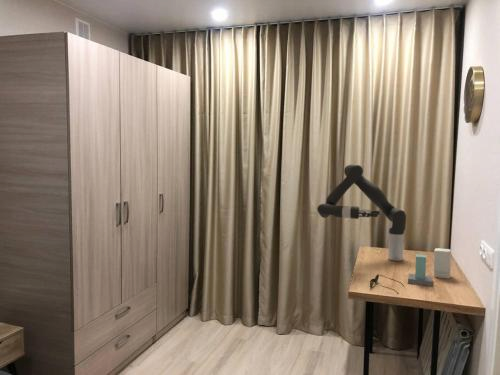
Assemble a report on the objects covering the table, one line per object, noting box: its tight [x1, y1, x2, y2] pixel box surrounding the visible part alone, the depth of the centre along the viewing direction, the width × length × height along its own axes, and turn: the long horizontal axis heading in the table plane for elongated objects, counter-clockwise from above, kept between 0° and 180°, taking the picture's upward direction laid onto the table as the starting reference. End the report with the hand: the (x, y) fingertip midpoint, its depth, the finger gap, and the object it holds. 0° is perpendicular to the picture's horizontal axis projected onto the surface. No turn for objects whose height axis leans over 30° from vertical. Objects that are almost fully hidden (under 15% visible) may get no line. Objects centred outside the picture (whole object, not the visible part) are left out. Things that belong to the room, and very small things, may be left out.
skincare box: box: [433, 247, 452, 280], centre depth 229 cm, size 8×7×16 cm
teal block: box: [414, 253, 427, 279], centre depth 220 cm, size 5×5×12 cm
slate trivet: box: [407, 273, 433, 287], centre depth 221 cm, size 10×12×2 cm
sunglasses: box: [369, 273, 405, 295], centre depth 212 cm, size 14×15×5 cm
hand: (378, 214), depth 239 cm, fingers open, 8 cm apart
